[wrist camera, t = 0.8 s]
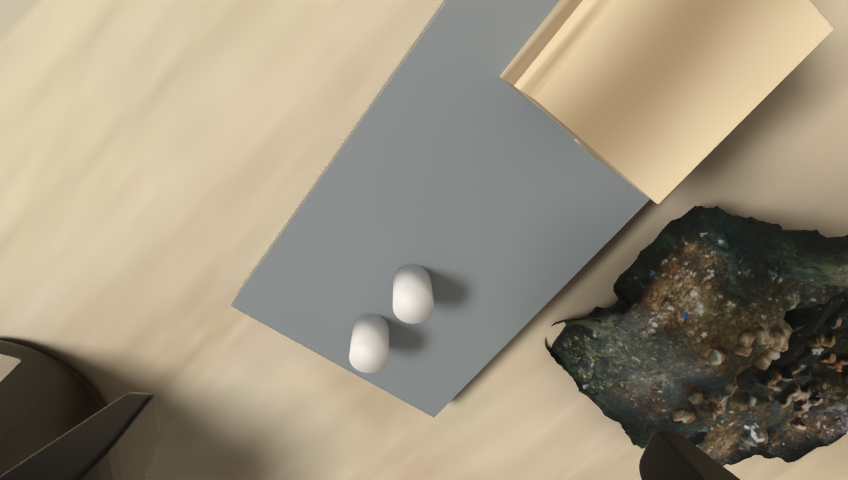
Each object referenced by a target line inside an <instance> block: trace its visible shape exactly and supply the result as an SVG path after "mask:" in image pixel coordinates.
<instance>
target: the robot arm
mask: <svg viewBox="0 0 848 480" xmlns="http://www.w3.org/2000/svg"><path fill="white" fill-rule="evenodd" d="M159 435H160V423H159V414H158V404H157V398H156V396H155V395H154V394H152V393H141V392H129V393H127V394H125V395H123V396H122V397H120V398H118V399H117V400H115V401H114V402H112V403H111V404H109V405H108V406H106V407H105V408H103V409H102V410H100V411H99V412H97V413H96V414H94V415H93V416H91V417H90V418H88V419H87V420H85V421H83V422H82V423H80V424H79V425H77V426H76V427H74V428H73V429H71V430H70V431H68V432H67V433H65V434H64V435H62V436H61V437H59V438H58V439H56V440H55V441H53V442H52V443H50V444H49V445H47V446H45V447H44V448H42V449H41V450H39V451H38V452H36V453H35V454H33V455H32V456H30V457H29V458H27V459H26V460H24V461H23V462H21V463H20V464H18V465H17V466H15V467H14V468H12V469H10V470H9V471H7V472H6V473H4V474H3V475H1V476H0V480H144V477H145V475H146V472H147V470H148V467H149V464H150V462H151V459H152V457H153V454H154V451H155V449H156V446H157V443H158V440H159ZM639 470H640V475H641V479H642V480H740V479H739V478H737V477H736V476H735V475H733V474H732V473H731V472H729V471H728V470H727V469H726V468H724V467H723V466H722V465H720V464H719V463H718V462H716V461H715V460H714V459H713V458H711V457H710V456H709V455H707V454H706V453H705V452H703V451H702V450H701V449H700V448H698V447H697V446H696V445H694V444H693V443H692V442H690V441H689V440H688V439H687V438H685V437H684V436H683V435H681V434H680V433H678V432H675V431H663V430H658V431H655V432H654V433H653V434H652V435H651V437H650V440H649V442H648V444H647V446H646V448H645V450H644V453H643V455H642V457H641V459H640V464H639Z"/></svg>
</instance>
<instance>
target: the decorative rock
mask: <svg viewBox="0 0 848 480" xmlns="http://www.w3.org/2000/svg"><path fill="white" fill-rule="evenodd" d="M614 292H615V294H616V295H617V297H618V301H617V303H616V304H615V305H614V306H613V307H612V308H601V307H597V306H596V307H595V309H594V310H593V311H592V312H591V313H590V314H589V315H588V317H587V318H584V319H582V320H575V321H571V320H562V321H559V322H555V323H554V324H553V325H555V324H557V323H558V324H559V323H561V322H565V324H566V326H565V328H564V329H563V331H562V332H561V333H560V335H559V336H558V337H557V339H556V340H555V342H554V343H553V345H552V348H551V349H549V348H548V347H547V346H546V343H545V346H546V348H547V350H548V351H549V352H550V354H551V356H552V357H553V358H554V359H555V361H556V362H557V363H558V364H559V365H561V366H562V367H563V369H564V370H566V371H567V372H568V373H569V374H570V376H572V377H573V379H574V381H575V382H576V384H577V387H578V388H579V391H580V392H581V393H583V394H585V395H587V396H588V397H589V398H590V399H591V400H592V401H593V402H594V403H595V404H596V405H597V406H598V407H599V408H600V409H601V410H602V412H603V413H604V415H605V416H607V417H609V418H610V419H612V420H614V421H617V422H619V423H620V424H621V425H622V428H623V429H624V430H625V431H626V432H625V433H626V434H627V435H628V436H629V438H631V441H632V443H633V445H638V446H639V447H640V448H642V449H643V448H645V447H646V446H647V444H648V442H649V440H650V437H651V435H652V434H653V433H654V432H655V431H658V430H663V431H675V432H678V433H680V434H681V435H683V436H684V437H685V438H687V439H688V440H689V441H690V442H692V443H693V444H694V445H696V446H697V447H698V448H700V449H701V450H702V451H703V452H705V453H706V454H707V455H709V456H710V457H711V458H713V459H714V460H715V461H716V462H718V463H719V464H720V465H722V466H724V465H725V464H729V465H732V464H736V463H738V462H740V461H742V460H744V459H746V458H750V457H752V456H753V455H762V456H763V457H764V458H768V459H771V458H775V457H779V458H782V459H783V460H784V461H785V462H787V463H788V462H794V461H796V460H798V459H800V458H801V457H803V456H804V455H806V454H807V453H809V452H810V451H812V450H814V449H815V448H817V447H822V446H829V445H830V444H832V443H834V442H835V441H837V440H839V439H840V438H841V437H842V436H844V435H845V434H846V432H847V431H848V235H847V236H845V237H831V238H826V237H824V236H823V235H821V234H819V232H818V231H817V230H814V231H809V230H782V228H781V226H780V225H779V224H770V223H767V222H764V221H757V220H756V219H754V218H752V217H749V218H744V217H740V216H733V215H730V214H727V213H726V212H724V211H723V210H722V209H720V208H719V207H718V206H716V207H714V208H704V207H702V206H698V207H697V206H695V207H693V208H692V209H691V210H690V211H688V212H687V213H686V214H685V215H683V216H682V217H681V218H679V219H676V220H672V221H670V222H669V223H668V225H667V226H666V227H665V228H664V229H663V230H662V231H661V232H660V234H659V235H658V236H657V238H656V239H655V240H654V241H653V242H652V243H651V244H650V245H649V246H648V247H646V248H645V249H644V250H642V251H641V252H640V254H639V256H638V258H637V259H636V260H635V262H634V263H633V264H632V265H631V267H630V268H628V269H627V270H626V271H625V272H624V273H622V274H621V275H620V276H619V278H618V279H617V281H616V282H615V284H614ZM553 325H552V326H553ZM552 326H551V327H552ZM545 340H546V339H545Z"/></svg>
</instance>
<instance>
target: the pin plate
mask: <svg viewBox="0 0 848 480" xmlns="http://www.w3.org/2000/svg"><path fill="white" fill-rule="evenodd" d="M558 2H559V0H444V2H443V3H442V5H441V6H440V7H439V9H438V10H437V12H436V13H435V14H434V16H433V17H432V19H431V20H430V22H429V23H428V24H427V26H426V27H425V29H424V30H423V31H422V33H421V34H420V36H419V37H418V39H417V40H416V41H415V43H414V44H413V46H412V47H411V48H410V50H409V51H408V53H407V54H406V55H405V57H404V58H403V60H402V61H401V63H400V64H399V65H398V67H397V68H396V70H395V71H394V72H393V74H392V75H391V77H390V78H389V80H388V81H387V82H386V84H385V85H384V87H383V88H382V89H381V91H380V92H379V94H378V95H377V97H376V98H375V99H374V101H373V102H372V104H371V105H370V106H369V108H368V109H367V111H366V112H365V113H364V115H363V116H362V118H361V119H360V121H359V122H358V123H357V125H356V126H355V128H354V129H353V130H352V132H351V133H350V135H349V136H348V138H347V139H346V140H345V142H344V143H343V145H342V146H341V147H340V149H339V150H338V152H337V153H336V155H335V156H334V157H333V159H332V160H331V162H330V163H329V164H328V166H327V167H326V169H325V170H324V171H323V173H322V174H321V176H320V177H319V179H318V180H317V181H316V183H315V184H314V186H313V187H312V188H311V190H310V191H309V193H308V194H307V196H306V197H305V198H304V200H303V201H302V203H301V204H300V205H299V207H298V208H297V210H296V211H295V213H294V214H293V215H292V217H291V218H290V220H289V221H288V222H287V224H286V225H285V227H284V228H283V229H282V231H281V232H280V234H279V235H278V237H277V238H276V239H275V241H274V242H273V244H272V245H271V246H270V248H269V249H268V251H267V252H266V254H265V255H264V256H263V258H262V259H261V261H260V262H259V263H258V265H257V266H256V268H255V269H254V271H253V272H252V273H251V275H250V276H249V278H248V279H247V280H246V282H245V283H244V285H243V286H242V287H241V289H240V291H239V293H238V294H237V296H236V298H235V300H234V302H233V303H232V305H231V306H232V307H234V308H236V309H238V310H239V311H241V312H243V313H245V314H247V315H249V316H250V317H252V318H254V319H256V320H258V321H259V322H261V323H263V324H265V325H267V326H269V327H270V328H272V329H274V330H276V331H278V332H279V333H281V334H283V335H285V336H287V337H289V338H290V339H292V340H294V341H296V342H298V343H299V344H301V345H303V346H305V347H307V348H309V349H310V350H312V351H314V352H316V353H318V354H319V355H321V356H323V357H325V358H327V359H329V360H330V361H332V362H334V363H336V364H338V365H339V366H341V367H343V368H345V369H347V370H349V371H350V372H352V373H354V374H356V375H358V376H359V377H361V378H363V379H365V380H367V381H369V382H370V383H372V384H374V385H376V386H378V387H379V388H381V389H383V390H385V391H387V392H389V393H390V394H392V395H394V396H396V397H398V398H399V399H401V400H403V401H405V402H407V403H409V404H410V405H412V406H414V407H416V408H418V409H419V410H421V411H423V412H425V413H427V414H429V415H430V416H432V417H435V416H436V415H437V414H438V413H439V412H440V411H441V410H442V409H443V408H444V407H445V406H446V405H447V404H448V403H449V402H450V401H451V400H452V399H453V398H454V397H455V396H456V395H457V394H458V393H459V392H460V391H461V390H462V389H463V388H464V387H465V386H466V385H467V384H468V383H469V382H470V381H471V380H472V379H473V378H474V377H475V376H476V375H477V374H478V373H479V372H480V371H481V370H482V369H483V367H484V366H485V365H486V364H487V363H488V362H489V361H490V360H491V359H492V358H493V357H494V356H495V355H496V354H497V353H498V352H499V351H500V350H501V349H502V348H503V347H504V346H505V345H506V344H507V343H508V342H509V341H510V340H511V339H512V338H513V337H514V336H515V335H516V334H517V333H518V332H519V331H520V330H521V329H522V328H523V327H524V326H525V325H526V324H527V323H528V322H529V321H530V320H531V319H532V318H533V317H534V316H535V315H536V314H537V313H538V312H539V311H540V310H541V309H542V308H543V307H544V306H545V305H546V304H547V303H548V302H549V301H550V300H551V299H552V298H553V297H554V296H555V295H556V294H557V293H558V292H559V291H560V290H561V289H562V288H563V287H564V286H565V285H566V284H567V283H568V282H569V281H570V280H571V279H572V278H573V277H574V276H575V275H576V274H577V273H578V272H579V271H580V270H581V269H582V267H583V266H584V265H585V264H586V263H587V262H588V261H589V260H590V259H591V258H592V257H593V256H594V255H595V254H596V253H597V252H598V251H599V250H600V249H601V248H602V247H603V246H604V245H605V244H606V243H607V242H608V241H609V240H610V239H611V238H612V237H613V236H614V235H615V234H616V233H617V232H618V231H619V230H620V229H621V228H622V227H623V226H624V225H625V224H626V223H627V222H628V221H629V220H630V219H631V218H632V217H633V216H634V215H635V214H636V213H637V212H638V211H639V210H640V209H641V208H642V207H643V206H644V205H645V204H646V203H647V202H648V201H649V200H650V198H648V197H647V196H646V195H644V194H643V193H642V192H640V191H639V190H638V189H636V188H635V187H633V186H632V185H631V184H629V183H628V182H627V181H625V180H624V179H623V178H621V177H620V176H619V175H617V174H616V173H615V172H613V171H612V170H611V169H609V168H608V167H607V166H605V165H604V164H602V163H601V162H600V161H598V160H597V159H596V158H595V157H593V156H592V155H591V154H590V153H589V152H587V151H586V150H585V149H584V148H583V147H582V146H580V145H579V144H578V143H577V142H576V141H575V139H576V138H574V137H573V136H572V135H571V134H570V133H568V132H567V131H566V130H565V129H564V128H563V127H561V126H560V125H559V124H558V123H557V122H556V121H554V120H553V119H552V118H551V117H550V116H549V115H547V114H546V113H545V112H544V111H543V110H541V109H540V108H539V107H537V106H536V105H534V104H533V103H531V102H530V101H528V100H527V99H525V98H524V97H523V96H521V95H520V94H519V93H518V92H517V91H516V90H514V89H513V88H512V87H511V86H510V85H509V84H507V83H506V82H505V81H504V80H503V79H501V78H500V75H501V74H502V73H503V72H504V70H505V69H506V68H507V66H508V65H509V64H510V63H511V61H512V60H513V59H514V58H515V56H516V55H517V54H518V52H519V51H520V50H521V49H522V47H523V46H524V45H525V44H526V42H527V41H528V40H529V39H530V37H531V36H532V35H533V33H534V32H535V31H536V30H537V28H538V27H539V26H540V25H541V23H542V22H543V21H544V19H545V18H546V17H547V16H548V14H549V13H550V12H551V11H552V9H553V8H554V7H555V6H556V4H557V3H558Z"/></svg>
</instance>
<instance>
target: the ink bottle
mask: <svg viewBox="0 0 848 480" xmlns="http://www.w3.org/2000/svg"><path fill="white" fill-rule="evenodd" d="M103 408H104V407H103V405H102V403H101V401H100V399H99V398H98V396H97V395H96V394H95V392H94V391H93V390H92V389H91V387H90V386H89V385H88V384H87V383H86V382H85V381H84V380H83V379H82V378H81V377H79V376H78V375H77V374H76V373H75V372H73V371H72V370H71V369H69V368H68V367H67V366H65V365H64V364H62V363H60V362H59V361H57V360H55V359H54V358H52V357H50V356H48V355H46V354H44V353H42V352H40V351H37V350H35V349H32V348H30V347H27V346H24V345H20V344H17V343H13V342H8V341H2V340H0V476H1V475H3V474H4V473H6V472H7V471H9V470H10V469H12V468H14V467H15V466H17V465H18V464H20V463H21V462H23V461H24V460H26V459H27V458H29V457H30V456H32V455H33V454H35V453H36V452H38V451H39V450H41V449H42V448H44V447H45V446H47V445H49V444H50V443H52V442H53V441H55V440H56V439H58V438H59V437H61V436H62V435H64V434H65V433H67V432H68V431H70V430H71V429H73V428H74V427H76V426H77V425H79V424H80V423H82V422H83V421H85V420H87V419H88V418H90V417H91V416H93V415H94V414H96V413H97V412H99V411H100V410H102V409H103Z"/></svg>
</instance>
